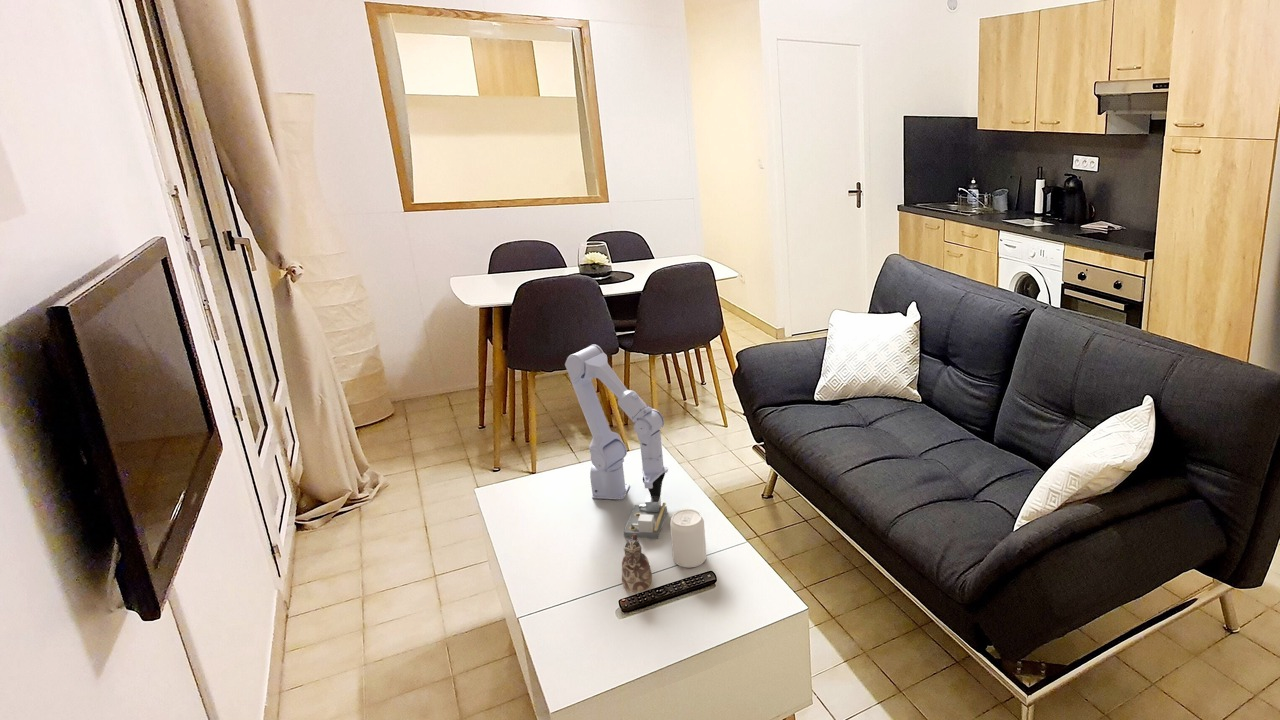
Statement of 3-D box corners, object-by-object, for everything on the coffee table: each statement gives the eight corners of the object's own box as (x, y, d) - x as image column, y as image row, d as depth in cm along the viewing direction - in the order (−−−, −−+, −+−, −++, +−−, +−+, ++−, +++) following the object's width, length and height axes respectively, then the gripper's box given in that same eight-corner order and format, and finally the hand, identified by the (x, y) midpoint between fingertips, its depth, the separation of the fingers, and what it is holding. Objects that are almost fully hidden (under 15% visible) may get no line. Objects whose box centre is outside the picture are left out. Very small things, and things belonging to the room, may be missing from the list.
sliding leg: (637, 510, 189) (636, 501, 188) (640, 504, 192) (639, 495, 191) (659, 511, 188) (658, 502, 187) (661, 505, 190) (660, 496, 189)
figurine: (617, 590, 162) (612, 546, 158) (628, 571, 168) (623, 529, 164) (646, 594, 159) (641, 551, 155) (656, 575, 166) (652, 532, 161)
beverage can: (709, 551, 172) (707, 509, 168) (702, 571, 165) (698, 528, 161) (678, 547, 175) (675, 506, 171) (669, 567, 168) (665, 525, 164)
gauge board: (624, 537, 181) (622, 521, 180) (635, 509, 193) (633, 494, 192) (657, 538, 179) (656, 522, 178) (667, 510, 191) (665, 495, 189)
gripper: (661, 467, 180) (665, 512, 185) (671, 441, 193) (674, 484, 198) (635, 467, 182) (639, 511, 186) (646, 441, 195) (650, 483, 200)
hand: (656, 497), depth 192 cm, fingers closed
